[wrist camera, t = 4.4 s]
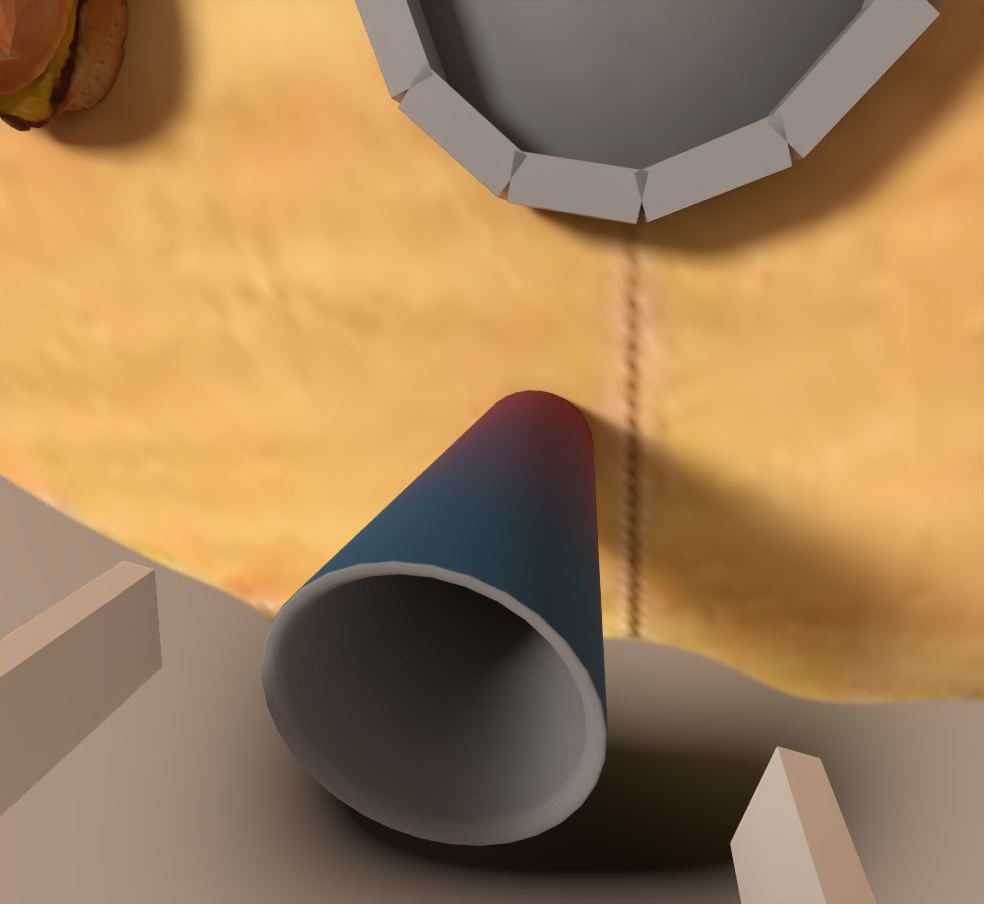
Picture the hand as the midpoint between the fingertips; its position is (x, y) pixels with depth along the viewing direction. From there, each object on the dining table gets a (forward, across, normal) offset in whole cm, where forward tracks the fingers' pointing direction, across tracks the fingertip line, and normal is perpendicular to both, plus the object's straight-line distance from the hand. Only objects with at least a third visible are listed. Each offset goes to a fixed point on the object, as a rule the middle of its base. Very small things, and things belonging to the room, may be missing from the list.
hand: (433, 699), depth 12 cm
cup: (+14, 0, +1) cm, 14 cm away
